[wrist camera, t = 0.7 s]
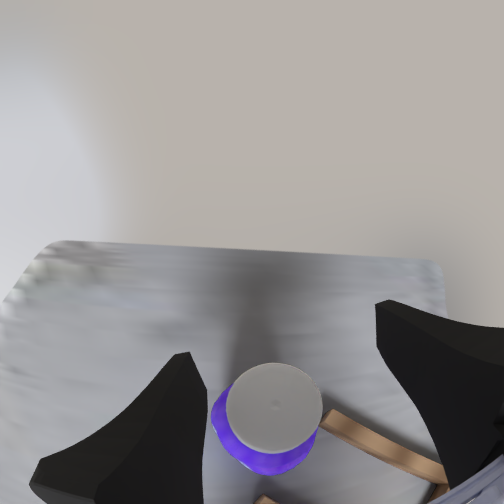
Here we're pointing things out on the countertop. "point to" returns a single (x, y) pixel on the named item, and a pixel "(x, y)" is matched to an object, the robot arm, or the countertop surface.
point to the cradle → (380, 452)
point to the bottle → (269, 417)
